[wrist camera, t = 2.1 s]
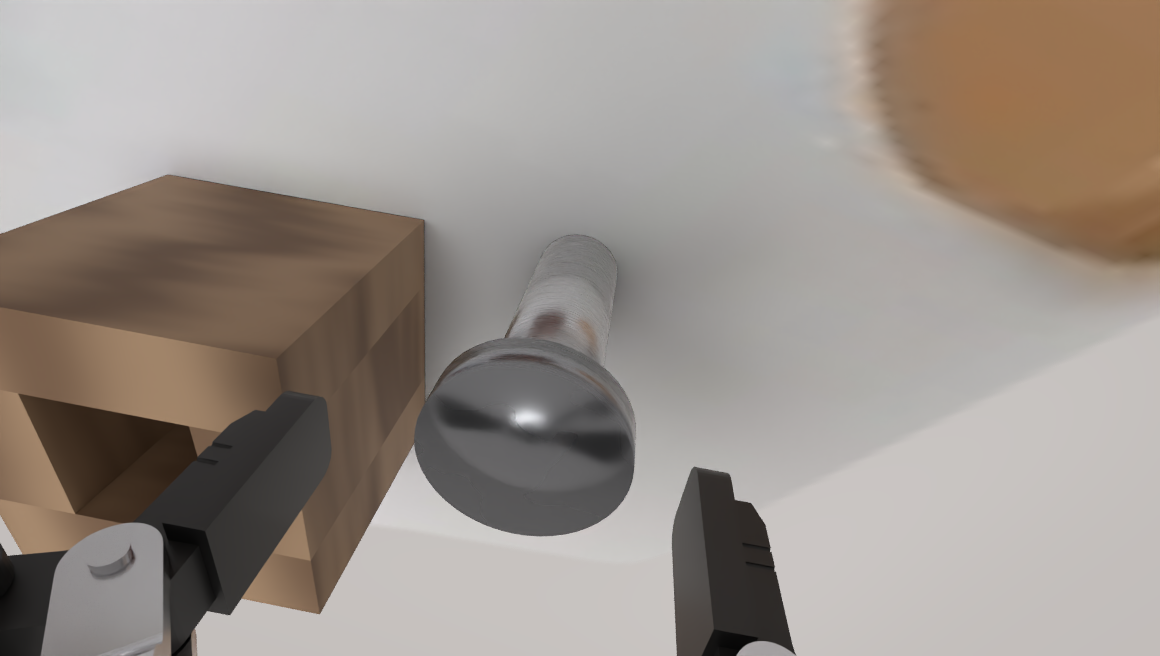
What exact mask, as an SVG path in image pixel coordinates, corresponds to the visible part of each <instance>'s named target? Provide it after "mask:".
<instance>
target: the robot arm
mask: <svg viewBox="0 0 1160 656" xmlns="http://www.w3.org/2000/svg"><path fill="white" fill-rule="evenodd" d="M331 452H332V449H331V438H330V429H329V420H328V410H327V403H326V400H325V399H324V398H323V397H320V396H315V395H309V394H304V393H299V392H293V391H285V392H284V393H282V394H281V395H280V396H279V397H278V398H277V399H276V400H275V401H274V402H273V403H272V405H271V406H270V407H269V408H268V409H267V410H266V411H260V410H254V411H252V412H250V413H249V414H247V415H245V416H243V417H241V418H240V419H238V420H236V421H234V422H232V423H231V424H230V425H229V426H228V427H227V428H226V429H225V430H224V431H223V432H222V433H221V434H220V435H219V436H218V437H217V438H216V439H215V440H214V441H213V442H212V445H211V446H208V447H207V448H206V449H205V450H204V451H203V452H202V453H201V454H200V455H199V456H198V457H197V460H196V461H193V462H192V463H191V464H190V465H189V466H188V467H187V468H186V469H185V470H184V471H183V472H182V473H181V474H180V475H179V476H178V477H177V478H176V479H175V480H174V481H173V482H172V483H171V484H170V485H169V486H168V487H167V488H166V489H165V490H164V491H163V492H162V493H161V494H160V496H159V497H158V498H157V499H156V500H155V501H154V502H153V503H152V504H151V505H150V506H149V507H148V508H147V509H146V510H145V511H144V512H143V513H142V514H141V515H140V516H139V517H138V518H137V519H136V520H134V521H133V522H132V523H124V524H119V525H114V526H111V527H107V528H104V529H102V530H100V531H97V532H95V533H93V534H91V535H89V536H87V537H86V538H84V539H83V540H81V541H80V542H78V543H77V544H76V545H74V546H73V547H72V548H71V549H70V550H65V551H55V552H44V553H33V554H23V555H12V556H7V554H6V552H5V551H4V549H3V548H2V545H1V544H0V656H197V639H196V631H195V627H196V626H197V624H198V623H199V622H200V620H201V619H202V617H203V616H204V615H205V613H206V612H207V611H210V612H215V613H221V614H226V615H230V614H231V613H232V611H233V610H234V608H235V607H236V606H237V604H238V603H239V601H240V600H241V598H242V597H243V595H244V594H245V592H246V591H247V589H248V588H249V586H250V585H251V584H252V582H253V581H254V579H255V578H256V576H257V575H258V573H259V572H260V570H261V569H262V567H263V566H264V564H265V563H266V561H267V560H268V558H269V557H270V556H271V554H272V553H273V551H274V550H275V548H276V547H277V545H278V544H279V542H280V541H281V539H282V538H283V536H284V535H285V533H286V532H287V531H288V529H289V528H290V526H291V525H292V523H293V522H294V520H295V519H296V517H297V516H298V514H299V513H300V511H301V510H302V508H303V507H304V506H305V504H306V503H307V501H308V500H309V498H310V497H311V495H312V494H313V492H314V491H315V489H316V488H317V486H318V485H319V483H320V482H321V480H322V479H323V477H324V476H325V474H326V472H327V469H328V466H329V463H330V459H331ZM672 556H673V577H674V601H675V623H676V644H677V656H796V654H795V652H794V649H793V645H792V642H791V637H790V633H789V628H788V624H787V619H786V615H785V610H784V606H783V602H782V597H781V593H780V589H779V584H778V580H777V575H776V572H774V567H775V566H774V561H773V557H772V553H771V552H770V544H769V539H768V535H767V530H766V526H765V524H764V522H763V521H762V519H761V518H760V516H759V515H758V513H757V511H756V510H755V508H754V507H753V505H752V504H751V503H748V502H743V501H737V500H735V499H734V493H733V487H732V481H731V477H730V475H729V474H728V473H724V472H719V471H713V470H708V469H702V468H697V467H693V469H692V470H691V472H690V475H689V478H688V481H687V484H686V486H685V489H684V492H683V495H682V498H681V501H680V504H679V507H678V510H677V512H676V516H675V520H674V525H673V533H672Z"/></svg>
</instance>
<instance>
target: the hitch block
mask: <svg viewBox="0 0 1160 656" xmlns="http://www.w3.org/2000/svg"><path fill="white" fill-rule="evenodd" d="M285 391H293V392H299V393H304V394H309V395H315V396H320V397H323V398H324V399H325V400H326V403H327V410H328V420H329V429H330V438H331V449H332V452H331V459H330V463H329V466H328V469H327V472H326V474H325V476H324V477H323V479H322V480H321V482H320V483H319V485H318V486H317V488H316V489H315V491H314V492H313V494H312V495H311V497H310V498H309V500H308V501H307V503H306V504H305V506H304V507H303V508H302V510H301V511H300V513H299V514H298V516H297V517H296V519H295V520H294V522H293V523H292V525H291V526H290V528H289V529H288V531H287V532H286V533H285V535H284V536H283V538H282V539H281V541H280V542H279V544H278V545H277V547H276V548H275V550H274V551H273V553H272V554H271V556H270V557H269V558H268V560H267V561H266V563H265V564H264V566H263V567H262V569H261V570H260V572H259V573H258V575H257V576H256V578H255V579H254V581H253V582H252V584H251V585H250V586H249V588H248V589H247V591H246V592H245V594H244V595H243V597H242V598H241V599H247V600H252V601H256V602H261V603H267V604H271V605H276V606H281V607H286V608H291V609H297V610H301V611H306V612H311V613H316V614H320V613H321V611H322V609H323V607H324V606H325V604H326V602H327V600H328V598H329V597H330V595H331V593H332V591H333V589H334V588H335V586H336V584H337V582H338V580H339V578H340V577H341V575H342V573H343V571H344V569H345V567H346V566H347V564H348V562H349V560H350V558H351V557H352V555H353V553H354V551H355V549H356V548H357V546H358V544H359V542H360V540H361V538H362V536H363V535H364V533H365V531H366V529H367V528H368V526H369V524H370V522H371V520H372V519H373V517H374V515H375V513H376V511H377V509H378V508H379V506H380V504H381V502H382V500H383V499H384V497H385V495H386V493H387V491H388V490H389V488H390V486H391V484H392V482H393V480H394V479H395V477H396V475H397V473H398V471H399V470H400V468H401V466H402V464H403V462H404V460H405V459H406V457H407V455H408V453H409V451H410V450H411V448H412V446H413V444H414V434H415V426H416V422H417V418H418V416H419V414H420V412H421V409H422V407H423V406H424V404H425V315H424V220H420V219H415V218H409V217H403V216H398V215H392V214H387V213H381V212H375V211H370V210H364V209H358V208H353V207H347V206H341V205H336V204H330V203H325V202H319V201H313V200H308V199H302V198H296V197H291V196H285V195H279V194H274V193H268V192H263V191H257V190H251V189H246V188H240V187H234V186H229V185H223V184H217V183H212V182H206V181H201V180H195V179H189V178H184V177H178V176H172V175H165V176H163V177H160V178H157V179H154V180H151V181H149V182H146V183H143V184H140V185H137V186H134V187H132V188H129V189H126V190H123V191H120V192H118V193H115V194H112V195H109V196H106V197H103V198H101V199H98V200H95V201H92V202H89V203H87V204H84V205H81V206H78V207H75V208H72V209H70V210H67V211H64V212H61V213H58V214H56V215H53V216H50V217H47V218H44V219H41V220H39V221H36V222H33V223H30V224H27V225H25V226H22V227H19V228H16V229H13V230H10V231H8V232H5V233H2V234H0V515H1V517H2V519H3V521H4V522H5V524H6V526H7V528H8V529H9V531H10V533H11V534H12V536H13V538H14V540H15V541H16V543H17V545H18V547H19V548H20V550H21V552H22V554H33V553H44V552H55V551H65V550H70V549H71V548H72V547H73V546H74V545H76V544H77V543H78V542H80V541H81V540H83V539H84V538H86V537H87V536H89V535H91V534H93V533H95V532H97V531H100V530H102V529H104V528H107V527H111V526H114V525H119V524H124V523H132V522H133V521H134V520H136V519H137V518H138V517H139V516H140V515H141V514H142V513H143V512H144V511H145V510H146V509H147V508H148V507H149V506H150V505H151V504H152V503H153V502H154V501H155V500H156V499H157V498H158V497H159V496H160V494H161V493H162V492H163V491H164V490H165V489H166V488H167V487H168V486H169V485H170V484H171V483H172V482H173V481H174V480H175V479H176V478H177V477H178V476H179V475H180V474H181V473H182V472H183V471H184V470H185V469H186V468H187V467H188V466H189V465H190V464H191V463H192V462H193V461H196V460H197V457H198V456H199V455H200V454H201V453H202V452H203V451H204V450H205V449H206V448H207V447H208V446H211V445H212V442H213V441H214V440H215V439H216V438H217V437H218V436H219V435H220V434H221V433H222V432H223V431H224V430H225V429H226V428H227V427H228V426H229V425H230V424H231V423H232V422H234V421H236V420H238V419H240V418H241V417H243V416H245V415H247V414H249V413H250V412H252V411H254V410H260V411H266V410H267V409H268V408H269V407H270V406H271V405H272V403H273V402H274V401H275V400H276V399H277V398H278V397H279V396H280V395H281V394H282V393H284V392H285Z"/></svg>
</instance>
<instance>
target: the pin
mask: <svg viewBox="0 0 1160 656" xmlns="http://www.w3.org/2000/svg"><path fill="white" fill-rule="evenodd" d="M616 281H617V265H616V262H615V259H614V257H613V255H612V254H611V252H610V251H609V250H608V249H607V247H606V246H604V245H603V244H602V243H601V242H599V241H597V240H596V239H594V238H591V237H588V236H584V235H568V236H564V237H561V238H559V239H557V240H555V241H554V242H552V243H551V244H550V245H549V246H548V247H547V248H546V250H545V251H544V252H543V254H542V256H541V259H540V261H539V263H538V265H537V267H536V270H535V272H534V274H533V276H532V278H531V281H530V283H529V285H528V287H527V289H526V292H525V294H524V296H523V298H522V300H521V302H520V305H519V307H518V309H517V311H516V313H515V316H514V318H513V320H512V322H511V324H510V327H509V329H508V331H507V333H506V335H505V338H503V339H497V340H493V341H489V342H485V343H483V344H480V345H477V346H475V347H473V348H471V349H469V350H467V351H465V352H464V353H462V354H461V355H460V356H458V357H457V358H456V359H454V360H453V361H452V362H451V364H450V365H449V366H448V367H447V368H446V369H445V371H444V372H443V374H442V375H441V376H440V378H439V380H438V382H437V383H436V385H435V387H434V388H433V390H432V392H431V394H430V395H429V397H428V399H427V401H426V402H425V404H424V406H423V407H422V409H421V412H420V414H419V416H418V418H417V422H416V426H415V434H414V443H415V451H416V455H417V459H418V462H419V464H420V467H421V469H422V471H423V473H424V475H425V476H426V478H427V480H428V481H429V483H430V484H431V485H432V486H433V488H434V489H435V490H436V491H437V492H438V493H439V494H440V495H441V496H442V497H443V498H444V499H445V500H446V501H447V502H448V503H449V504H451V505H452V506H453V507H454V508H456V509H457V510H459V511H460V512H462V513H463V514H465V515H466V516H468V517H470V518H472V519H474V520H475V521H478V522H480V523H482V524H484V525H487V526H489V527H492V528H495V529H498V530H501V531H505V532H510V533H514V534H520V535H527V536H555V535H563V534H568V533H573V532H577V531H580V530H583V529H585V528H588V527H590V526H592V525H594V524H596V523H598V522H600V521H601V520H603V519H604V518H606V517H607V516H609V515H610V514H611V513H612V512H613V511H614V510H615V509H617V507H618V506H619V505H620V504H621V502H622V501H623V500H624V498H625V496H626V495H627V493H628V491H629V488H630V486H631V483H632V479H633V473H634V459H635V440H636V423H635V417H634V412H633V409H632V406H631V403H630V401H629V399H628V397H627V395H626V393H625V391H624V390H623V388H622V387H621V386H620V384H619V383H618V382H617V380H616V379H615V378H614V377H613V376H612V375H611V374H610V373H609V372H608V371H607V370H606V369H605V368H604V362H605V355H606V348H607V342H608V335H609V328H610V321H611V315H612V308H613V301H614V294H615V288H616Z"/></svg>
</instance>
